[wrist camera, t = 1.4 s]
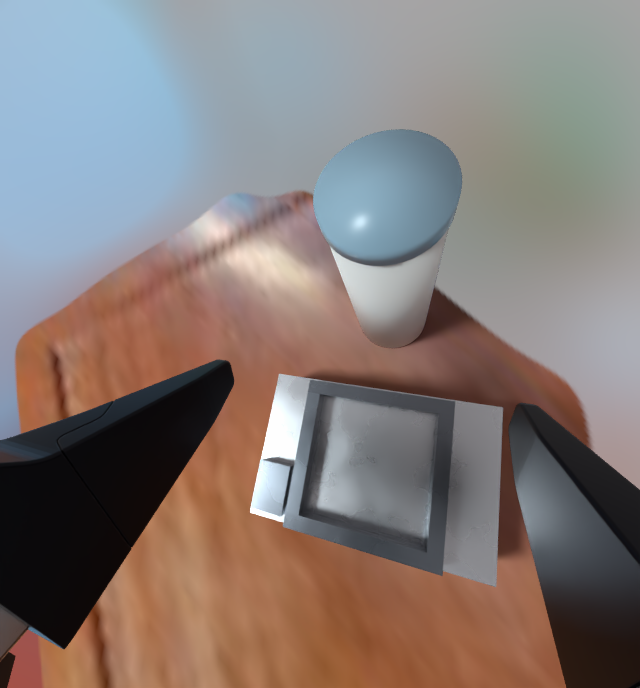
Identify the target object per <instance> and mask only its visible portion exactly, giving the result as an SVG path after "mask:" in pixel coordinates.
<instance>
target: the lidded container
mask: <svg viewBox="0 0 640 688" xmlns="http://www.w3.org/2000/svg"><path fill="white" fill-rule="evenodd" d="M461 188H462V173H461V168H460V165H459V162H458V160H457V158H456V157H455V155H454V153H453V152H452V151H451V150H450V149H449V147H448V146H446V145H445V144H444V143H443V142H441V141H440V140H438V139H436V138H435V137H433V136H431V135H428V134H426V133H422V132H419V131H413V130H403V129H400V130H387V131H381V132H377V133H373V134H370V135H367V136H365V137H362V138H360V139H358V140H356V141H354V142H353V143H351V144H349V145H348V146H346V147H345V148H343V149H342V150H341V151H340V152H339V153H337V154H336V155H335V156H334V157H333V158H332V159H331V160H330V161H329V162H328V164H327V165H326V167H325V168H324V169H323V171H322V173H321V174H320V176H319V178H318V181H317V183H316V187H315V190H314V197H313V206H314V212H315V216H316V218H317V221H318V224H319V226H320V229H321V231H322V234H323V236H324V238H325V240H326V241H327V243H328V244H329V245H330V248H331V250H332V253H333V255H334V258H335V261H336V263H337V266H338V268H339V271H340V274H341V276H342V279H343V282H344V284H345V287H346V289H347V292H348V295H349V297H350V300H351V302H352V305H353V308H354V310H355V313H356V315H357V318H358V321H359V323H360V326H361V329H362V331H363V333H364V334H365V336H366V337H367V338H368V339H369V340H370V341H371V342H373V343H374V344H376V345H378V346H381V347H385V348H399V347H403V346H406V345H408V344H410V343H411V342H413V341H414V340H415V339H416V338H417V337H418V336H419V335H420V334H421V332H422V330H423V328H424V325H425V322H426V318H427V314H428V310H429V306H430V302H431V298H432V294H433V290H434V286H435V282H436V278H437V273H438V269H439V265H440V261H441V257H442V253H443V249H444V245H445V241H446V237H447V233H448V229H449V227H450V224H451V223H452V221H453V219H454V215H455V213H456V209H457V205H458V201H459V198H460V194H461Z"/></svg>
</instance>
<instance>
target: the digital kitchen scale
mask: <svg viewBox="0 0 640 688" xmlns="http://www.w3.org/2000/svg"><path fill="white" fill-rule="evenodd" d="M502 422H503V407H497V406H490V405H483V404H477V403H470V402H463V401H457V400H450V399H443V398H437V397H430V396H423V395H417V394H410V393H403V392H397V391H390V390H383V389H377V388H370V387H363V386H357V385H350V384H343V383H337V382H330V381H323V380H317V379H310V378H303V377H297V376H290V375H283V374H279V378H278V382H277V387H276V392H275V397H274V401H273V406H272V411H271V416H270V420H269V425H268V430H267V435H266V439H265V444H264V449H263V454H262V459H261V461H260V465H259V470H258V475H257V480H256V484H255V489H254V494H253V499H252V503H251V511H250V512H251V513H254V514H257V515H261V516H264V517H267V518H271V519H274V520H277V521H280V522H284V523H283V527H285V528H289V529H292V530H295V531H298V532H302V533H305V534H308V535H311V536H315V537H318V538H321V539H324V540H328V541H331V542H334V543H337V544H341V545H344V546H347V547H350V548H353V549H357V550H360V551H363V552H366V553H370V554H373V555H376V556H379V557H383V558H386V559H389V560H392V561H396V562H399V563H402V564H405V565H409V566H412V567H415V568H418V569H422V570H425V571H428V572H431V573H434V574H438V575H441V576H442V575H443V571H445V572H448V573H452V574H455V575H458V576H461V577H465V578H468V579H471V580H475V581H478V582H481V583H484V584H488V585H491V586H494V587H496V578H497V552H498V526H499V500H500V474H501V448H502Z"/></svg>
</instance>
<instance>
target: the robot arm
mask: <svg viewBox="0 0 640 688" xmlns="http://www.w3.org/2000/svg"><path fill="white" fill-rule="evenodd" d="M233 385H234V377H233V373H232V368H231V365H230V363H229V361H226V360H215V361H212V362H210V363H207V364H205V365H202V366H200V367H197V368H195V369H192V370H190V371H187V372H185V373H182V374H180V375H177V376H174V377H172V378H169V379H167V380H164V381H162V382H159V383H157V384H154V385H152V386H149V387H147V388H144V389H142V390H139V391H136V392H134V393H131V394H129V395H126V396H124V397H121V398H119V399H116V400H115V401H111V402H108V403H106V404H103V405H101V406H98V407H96V408H93V409H90V410H88V411H85V412H83V413H80V414H77V415H74V416H71V417H69V418H66V419H63V420H60V421H57V422H54V423H51V424H48V425H46V426H43V427H40V428H37V429H34V430H31V431H28V432H25V433H22V434H19V435H17V436H14V437H10V438H7V439H4V440H0V688H7V686H8V682H9V679H10V675H11V671H12V667H13V664H14V660H15V655H13V654H11V653H10V652H9V651H10V650H11V649H12V647H13V646H14V645H15V644H16V643H17V642H18V640H19V639H20V638H21V637H22V636H23V634H24V633H25V632H26V631H27V630H30V631H32V632H34V633H35V634H37V635H39V636H41V637H43V638H44V639H46V640H48V641H50V642H51V643H53V644H55V645H57V646H58V647H60V648H62V649H65V648H66V647H67V646H68V644H69V643H70V642H71V640H72V639H73V637H74V636H75V634H76V633H77V631H78V630H79V628H80V627H81V625H82V624H83V622H84V621H85V619H86V618H87V616H88V615H89V613H90V612H91V610H92V608H93V607H94V605H95V604H96V602H97V601H98V599H99V598H100V596H101V595H102V593H103V592H104V590H105V589H106V587H107V586H108V584H109V582H110V581H111V579H112V578H113V576H114V575H115V573H116V572H117V570H118V569H119V567H120V566H121V564H122V563H123V561H124V560H125V558H126V557H127V555H128V553H129V552H130V550H131V547H133V546H134V544H135V542H136V541H137V539H138V538H139V536H140V535H141V533H142V532H143V530H144V529H145V527H146V526H147V524H148V523H149V521H150V520H151V518H152V517H153V515H154V513H155V512H156V510H157V509H158V507H159V506H160V504H161V503H162V501H163V500H164V498H165V497H166V495H167V494H168V492H169V491H170V489H171V488H172V486H173V485H174V483H175V481H176V480H177V478H178V477H179V475H180V474H181V472H182V471H183V469H184V468H185V466H186V465H187V463H188V462H189V460H190V459H191V457H192V456H193V454H194V452H195V451H196V449H197V448H198V446H199V445H200V443H201V442H202V440H203V439H204V437H205V436H206V434H207V433H208V431H209V430H210V428H211V426H212V425H213V423H214V422H215V420H216V418H217V416H218V414H219V413H220V411H221V409H222V407H223V405H224V403H225V401H226V399H227V397H228V395H229V393H230V391H231V389H232V387H233ZM509 440H510V448H511V456H512V465H513V473H514V480H515V486H516V491H517V495H518V499H519V503H520V507H521V511H522V515H523V519H524V523H525V527H526V531H527V535H528V538H529V542H530V546H531V550H532V554H533V558H534V562H535V566H536V570H537V574H538V578H539V582H540V586H541V590H542V594H543V598H544V601H545V605H546V609H547V613H548V617H549V621H550V625H551V629H552V633H553V637H554V641H555V645H556V649H557V653H558V657H559V661H560V664H561V668H562V672H563V676H564V680H565V684H566V688H640V490H639V489H638V488H637V487H636V486H634V485H633V484H632V483H631V482H629V481H628V480H627V479H626V478H624V477H623V476H622V475H621V474H620V473H618V472H617V471H616V470H615V469H614V468H612V467H611V466H610V465H609V464H608V463H606V462H605V461H604V460H603V459H601V458H600V457H599V456H598V455H597V454H595V453H594V452H593V451H592V450H591V449H589V448H588V447H587V446H586V445H584V444H583V443H582V442H581V441H580V440H578V439H577V438H576V437H575V436H574V435H572V434H571V433H570V432H569V431H567V430H566V429H565V428H564V427H563V426H561V425H560V424H559V423H558V422H556V421H555V420H554V419H553V418H552V417H550V416H549V415H548V414H547V413H546V412H544V411H543V410H542V409H541V408H539V407H538V406H536V405H533V404H526V403H519V404H518V405H517V406H516V408H515V411H514V413H513V416H512V419H511V422H510V424H509Z"/></svg>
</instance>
